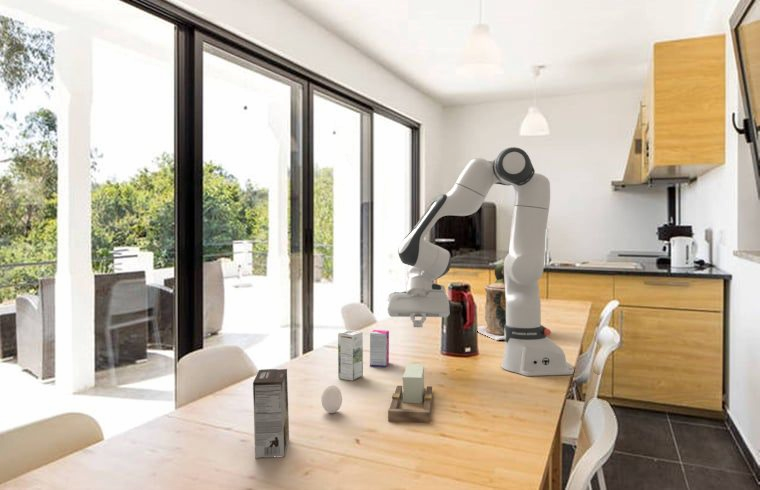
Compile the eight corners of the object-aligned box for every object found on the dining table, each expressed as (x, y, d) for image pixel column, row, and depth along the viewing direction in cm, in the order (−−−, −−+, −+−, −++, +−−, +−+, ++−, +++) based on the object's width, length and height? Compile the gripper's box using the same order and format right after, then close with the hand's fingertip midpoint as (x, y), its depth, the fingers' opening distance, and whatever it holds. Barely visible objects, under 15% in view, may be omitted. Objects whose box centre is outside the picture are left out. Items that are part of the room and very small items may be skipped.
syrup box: (348, 373, 157) (347, 329, 157) (363, 376, 154) (362, 331, 154) (338, 378, 152) (337, 332, 152) (353, 381, 149) (352, 334, 149)
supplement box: (386, 367, 164) (386, 333, 163) (369, 366, 165) (368, 333, 164) (389, 362, 169) (389, 329, 169) (373, 361, 171) (372, 329, 170)
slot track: (432, 393, 137) (432, 384, 137) (429, 422, 117) (429, 412, 117) (396, 392, 139) (396, 383, 139) (387, 421, 118) (387, 410, 118)
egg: (319, 410, 126) (318, 382, 126) (339, 407, 128) (338, 380, 128) (324, 418, 121) (323, 388, 121) (344, 414, 123) (344, 386, 123)
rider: (424, 388, 142) (423, 364, 142) (421, 403, 130) (421, 377, 130) (407, 388, 143) (406, 364, 142) (403, 402, 131) (402, 377, 131)
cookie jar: (468, 330, 220) (468, 259, 218) (516, 325, 227) (515, 257, 226) (497, 342, 196) (497, 263, 195) (549, 337, 203) (549, 260, 202)
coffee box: (260, 440, 109) (258, 369, 109) (289, 438, 110) (288, 367, 109) (253, 459, 100) (251, 382, 99) (285, 457, 101) (283, 380, 100)
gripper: (387, 286, 164) (384, 320, 154) (449, 286, 161) (449, 321, 151) (389, 297, 168) (386, 331, 159) (449, 297, 165) (449, 332, 156)
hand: (417, 326), depth 155 cm, fingers closed
